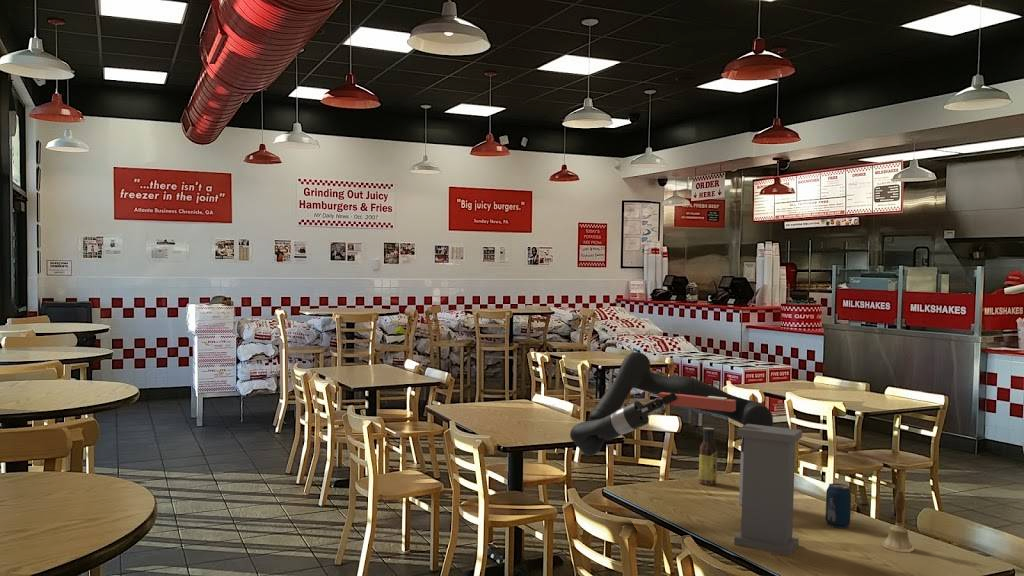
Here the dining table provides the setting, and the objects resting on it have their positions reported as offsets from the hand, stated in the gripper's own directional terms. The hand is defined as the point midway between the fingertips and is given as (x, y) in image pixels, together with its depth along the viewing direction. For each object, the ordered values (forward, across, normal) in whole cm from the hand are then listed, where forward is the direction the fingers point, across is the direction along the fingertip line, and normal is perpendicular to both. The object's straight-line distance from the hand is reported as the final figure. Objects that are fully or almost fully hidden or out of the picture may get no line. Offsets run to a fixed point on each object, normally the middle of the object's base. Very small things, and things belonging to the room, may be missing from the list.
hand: (677, 394), depth 237 cm
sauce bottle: (-26, +57, +30) cm, 70 cm away
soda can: (+15, +32, +54) cm, 65 cm away
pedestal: (+4, 0, +47) cm, 47 cm away
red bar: (+3, 0, +5) cm, 6 cm away
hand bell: (+31, +20, +63) cm, 73 cm away
